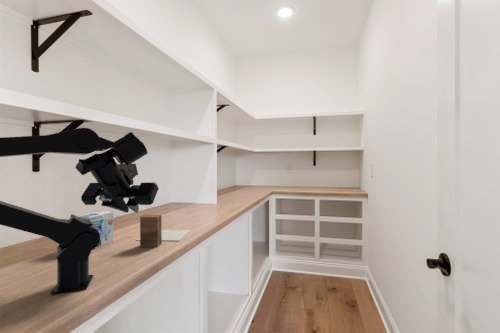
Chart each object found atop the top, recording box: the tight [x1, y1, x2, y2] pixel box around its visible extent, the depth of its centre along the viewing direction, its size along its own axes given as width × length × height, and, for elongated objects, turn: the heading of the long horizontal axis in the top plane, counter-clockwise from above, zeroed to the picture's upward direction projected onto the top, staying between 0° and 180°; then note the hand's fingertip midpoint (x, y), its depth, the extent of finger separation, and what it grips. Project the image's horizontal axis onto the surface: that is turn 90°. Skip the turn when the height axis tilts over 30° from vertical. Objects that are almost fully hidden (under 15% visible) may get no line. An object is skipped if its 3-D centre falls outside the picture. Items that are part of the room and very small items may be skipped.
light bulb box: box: [76, 210, 115, 250], centre depth 84 cm, size 11×7×11 cm, turn 168°
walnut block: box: [139, 214, 163, 248], centre depth 83 cm, size 3×6×10 cm, turn 87°
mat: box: [135, 229, 192, 242], centre depth 95 cm, size 14×16×1 cm
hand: (132, 211), depth 71 cm, fingers open, 3 cm apart
